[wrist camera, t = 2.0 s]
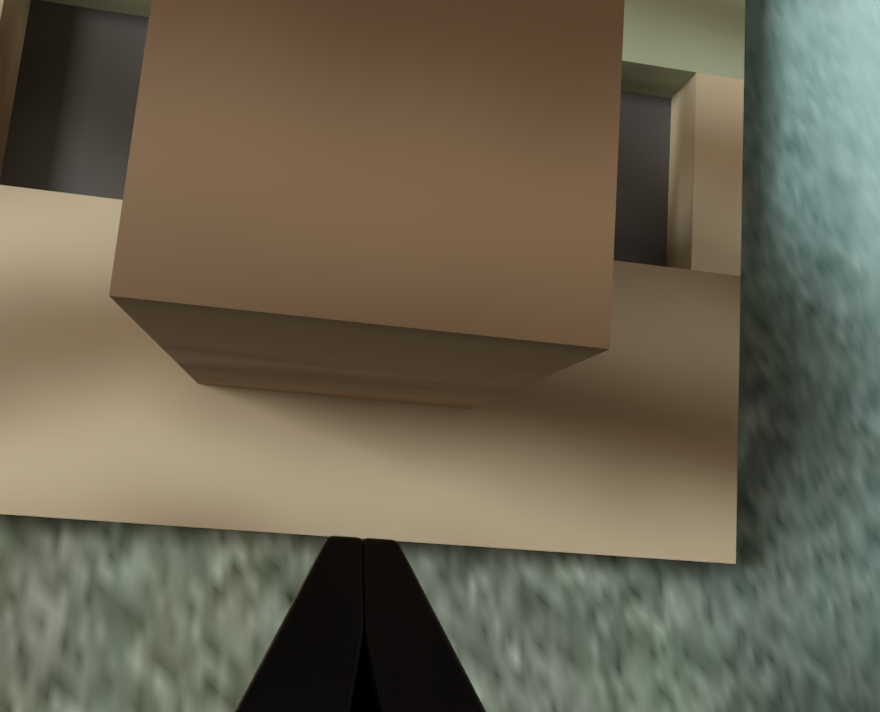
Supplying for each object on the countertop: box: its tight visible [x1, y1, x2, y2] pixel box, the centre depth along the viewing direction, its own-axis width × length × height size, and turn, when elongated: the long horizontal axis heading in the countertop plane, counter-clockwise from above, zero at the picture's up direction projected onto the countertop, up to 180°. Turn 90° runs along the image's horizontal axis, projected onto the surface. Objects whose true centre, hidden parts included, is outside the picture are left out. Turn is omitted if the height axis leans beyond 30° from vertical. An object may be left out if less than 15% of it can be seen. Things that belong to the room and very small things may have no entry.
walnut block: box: [109, 0, 625, 409], centre depth 17 cm, size 7×7×10 cm
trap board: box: [0, 0, 745, 564], centre depth 23 cm, size 20×22×4 cm
